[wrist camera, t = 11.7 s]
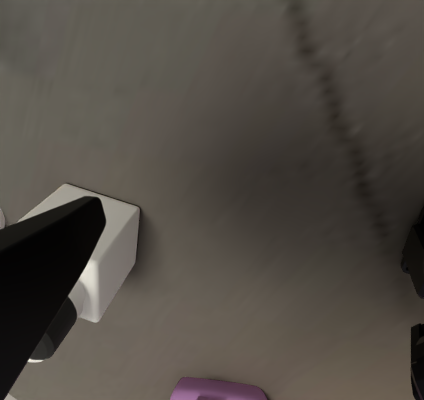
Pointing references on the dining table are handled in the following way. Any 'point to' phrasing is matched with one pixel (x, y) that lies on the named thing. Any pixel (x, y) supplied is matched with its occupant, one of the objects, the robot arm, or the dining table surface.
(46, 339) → the medicine bottle
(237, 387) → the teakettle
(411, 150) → the dining table surface
